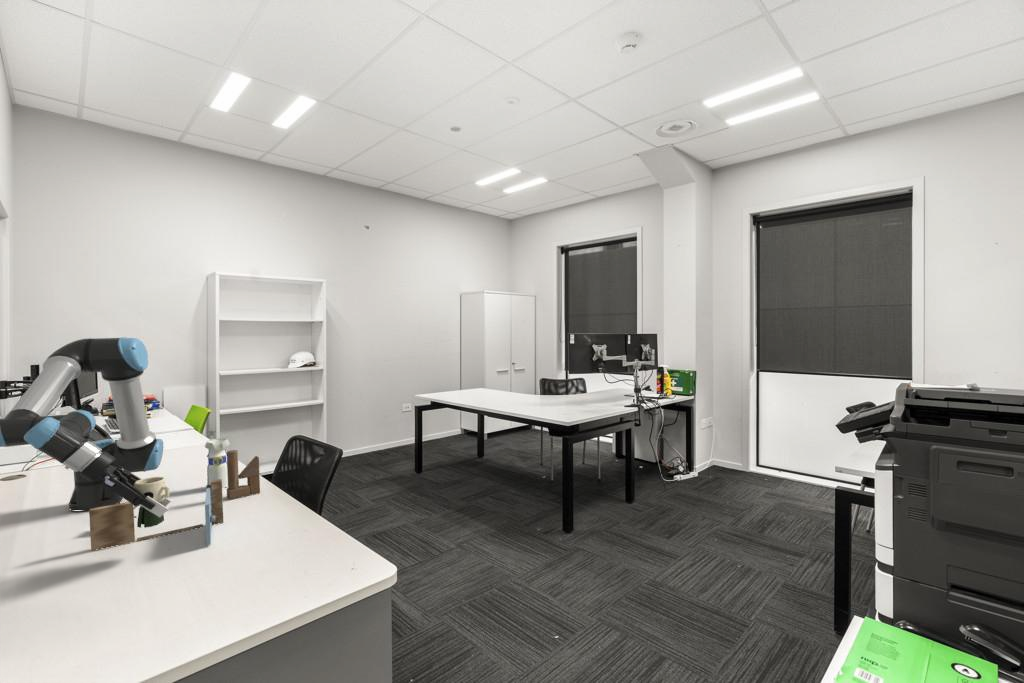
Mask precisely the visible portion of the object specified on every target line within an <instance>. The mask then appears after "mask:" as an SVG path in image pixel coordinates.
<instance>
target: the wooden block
mask: <svg viewBox="0 0 1024 683" xmlns="http://www.w3.org/2000/svg"><path fill="white" fill-rule="evenodd" d="M226 453H227V455H226V462H227V474H228V487H227V488H226V498H227V499H228V500H229V499H231V500H235V499H239V498H238V497H240V498H243V497H242V496H244V497H247V495H248V496H252V494H253V495H257V494H256V493H258V494H260V493H261V485H260V484H261V482H260V478H261V477H260V457H259V456H257V455H255V456H254V457H253V458H252V459H251V461H250V462H249V463H248V464H247V465H246V466H245V467H244V468H243V469H242V471H241V472H240V473H239V454H238V450H237V449H231V450H228V451H226ZM240 479H242V480H243V479H247V482H246V483H247V484H246V485H244V484H243V485H240V482H239V481H240ZM234 498H235V499H234Z"/></svg>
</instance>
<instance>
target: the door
mask: <svg viewBox="0 0 1024 683" xmlns="http://www.w3.org/2000/svg"><path fill="white" fill-rule="evenodd" d="M205 491H206V492H205V502H204V514H205V516H204V517H205V535H206V537H205V542H206V543H205V544H206V546H210V545H211V544H212V526H213V524H212V522H215V515H214V516H211V508H212V505H211V495H210V488H207V489H205Z"/></svg>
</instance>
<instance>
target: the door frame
mask: <svg viewBox="0 0 1024 683" xmlns="http://www.w3.org/2000/svg"><path fill="white" fill-rule="evenodd" d="M205 487H206V489H207V488H210V495H211V516H214V515H215V522H212V526H214V524H215V525H219V524H218V523H220V524H223V523H224V504H223V503H224V500H223V489H222V480H221V479H219V480H213V481H211V485H207V484H206V485H205ZM206 489H205V490H206ZM134 512H135V509H134V505H133V504H132V503H130V502H129V501H127V502H126V501H125V502H120V504H118V503H117V504H114V505H109V506H103V507H98V508H92V509H90V510H89V511H88V514H89V536H90V551H91V550H96V549H101V548H105V549H107V548H106V547H110V548H112V547H111V546H114V547H117V546H116V545H119V546H122V545H121V544H123V545H127V544H126V543H128V544H131V543H130V542H133V543H135V541H136V542H137V541H138V542H142V541H141V540H143V541H147V540H151V539H150V538H152V539H155V538H154V537H156V538H159V537H158V536H161V537H164V536H163V535H165V536H168V534H170V535H174V534H178V533H177V532H179V533H183V532H182V531H184V532H187V530H188V531H192V530H191V529H193V530H196V529H195V528H197V529H201V528H200V527H202V528H204V525H203V523H201V524H195V525H191V526H187V527H186V526H185V527H183V528H182V527H181V528H179V529H173V530H167V531H163V532H159V533H154V534H149V535H143V536H140V537H136V535H135V534H136V530H135V518H134V516H135V513H134ZM222 522H223V523H222ZM173 533H174V534H173ZM146 539H147V540H146ZM101 550H102V549H101ZM96 551H97V550H96Z"/></svg>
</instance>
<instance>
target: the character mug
mask: <svg viewBox="0 0 1024 683" xmlns="http://www.w3.org/2000/svg"><path fill="white" fill-rule="evenodd" d="M140 479H141V480H138V481H136V482H135V483H134V487H135V488H136V489H137V490H139V491H140V492H141V493H142V494H144V495H145V496H146V497H147V496H149V497H151V498H152V499H154V500H155V501H157V502H161V501H163V500H164V499H165V498H168V499H169V497H170V487H169V486H168V485H166V478H165V476H164V477H163V476H153V477H145V478H140ZM160 504H161V503H160ZM138 506H139V508H138V513H137V514H138V516H137V524H136V525H137V528H139V529H141V528H142V525H143V527H144V529H145V528H152V527H155V526H158V525H160V524H161V523H163V522H164V521H165V518H164V517H165V516H164V514H163V515H162V516H161V517H158V516H157V515H155V514H153V513H152V512H150V511H148V510H147V509H145V508H144V507H142V506H140V505H138ZM138 506H137V507H138Z"/></svg>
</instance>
